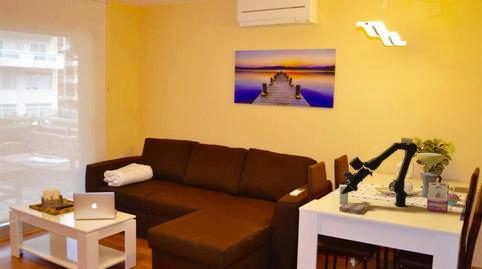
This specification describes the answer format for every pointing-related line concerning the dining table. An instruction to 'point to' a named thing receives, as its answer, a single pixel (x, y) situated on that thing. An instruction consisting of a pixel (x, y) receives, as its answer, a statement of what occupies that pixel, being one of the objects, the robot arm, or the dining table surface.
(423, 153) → the cocktail glass
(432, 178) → the coffeepot
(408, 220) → the dining table surface
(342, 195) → the sage block
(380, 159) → the robot arm
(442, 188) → the candy bar box
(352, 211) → the walnut base
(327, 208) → the dining table surface
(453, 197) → the cupcake
